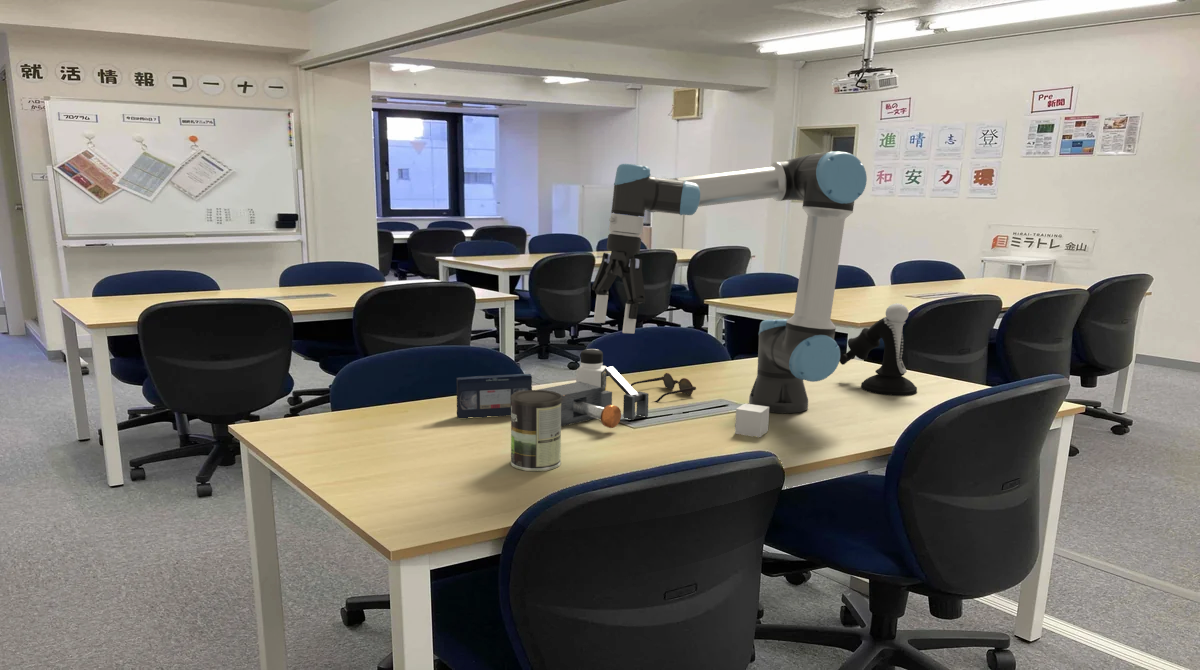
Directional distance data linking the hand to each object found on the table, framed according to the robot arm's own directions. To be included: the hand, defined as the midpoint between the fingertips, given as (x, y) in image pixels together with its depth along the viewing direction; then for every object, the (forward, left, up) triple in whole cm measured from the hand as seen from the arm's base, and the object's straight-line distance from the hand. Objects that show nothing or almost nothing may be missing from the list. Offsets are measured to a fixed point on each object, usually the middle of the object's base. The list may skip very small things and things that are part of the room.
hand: (613, 327), depth 186 cm
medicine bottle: (+29, -21, -24) cm, 43 cm away
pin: (+5, +1, -23) cm, 23 cm away
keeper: (+8, -12, -17) cm, 22 cm away
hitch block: (+13, +1, -24) cm, 28 cm away
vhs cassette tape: (+27, +13, -24) cm, 39 cm away
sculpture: (-18, -90, -24) cm, 94 cm away
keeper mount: (+9, -12, -24) cm, 28 cm away
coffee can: (-8, +28, -24) cm, 38 cm away
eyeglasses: (+16, -34, -25) cm, 45 cm away
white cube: (-22, -24, -24) cm, 41 cm away
